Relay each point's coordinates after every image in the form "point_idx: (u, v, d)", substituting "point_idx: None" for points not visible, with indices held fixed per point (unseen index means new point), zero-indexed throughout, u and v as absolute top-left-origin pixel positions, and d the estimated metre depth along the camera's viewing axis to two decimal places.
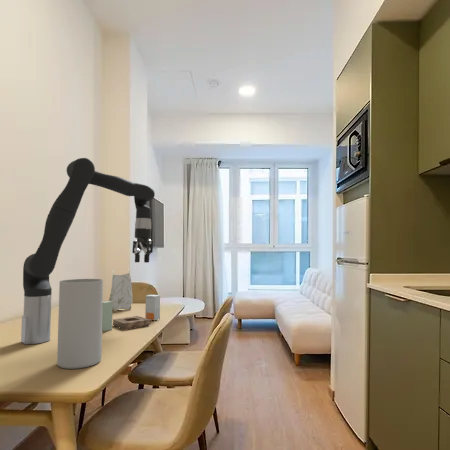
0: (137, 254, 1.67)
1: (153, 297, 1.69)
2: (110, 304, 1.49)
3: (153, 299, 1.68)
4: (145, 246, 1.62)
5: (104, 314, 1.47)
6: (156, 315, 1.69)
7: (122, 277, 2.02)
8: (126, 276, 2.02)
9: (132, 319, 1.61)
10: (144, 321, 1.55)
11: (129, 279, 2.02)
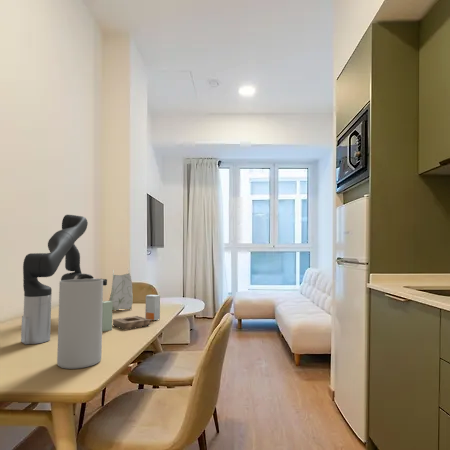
0: None
1: (153, 297, 1.69)
2: (110, 304, 1.49)
3: (153, 299, 1.68)
4: None
5: (104, 314, 1.47)
6: (156, 315, 1.69)
7: (122, 277, 2.03)
8: (126, 276, 2.02)
9: (132, 319, 1.61)
10: (144, 321, 1.55)
11: (130, 279, 2.02)
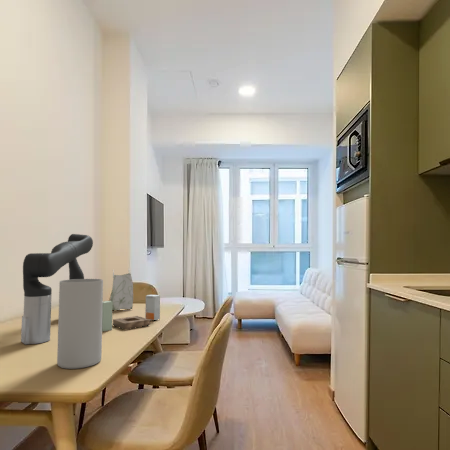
0: None
1: (153, 297, 1.69)
2: (110, 304, 1.49)
3: (153, 299, 1.68)
4: None
5: (104, 314, 1.47)
6: (156, 315, 1.69)
7: (123, 277, 2.03)
8: (127, 276, 2.02)
9: (132, 319, 1.61)
10: (144, 321, 1.55)
11: (130, 279, 2.02)
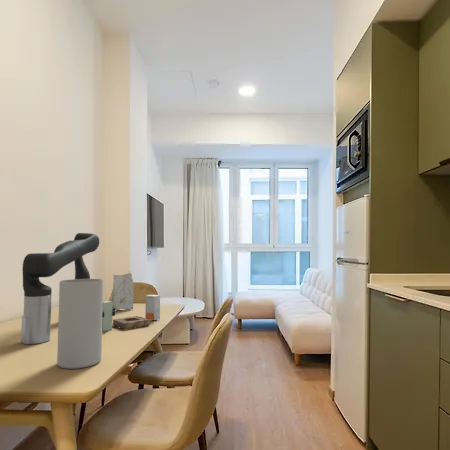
0: None
1: (153, 297, 1.69)
2: (110, 304, 1.49)
3: (153, 299, 1.68)
4: None
5: (104, 314, 1.47)
6: (156, 315, 1.69)
7: (123, 277, 2.03)
8: (128, 276, 2.02)
9: (132, 319, 1.61)
10: (144, 321, 1.55)
11: (131, 279, 2.02)
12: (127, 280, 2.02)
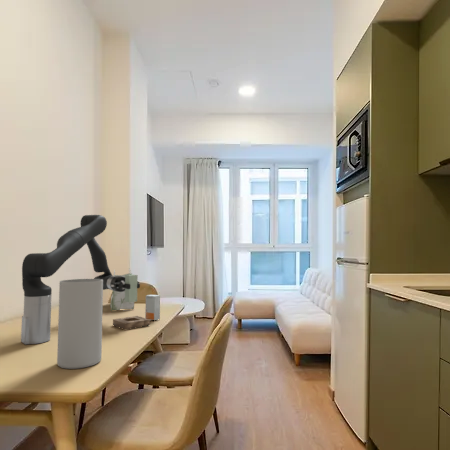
0: None
1: (153, 297, 1.69)
2: (135, 277, 1.58)
3: (153, 299, 1.68)
4: None
5: (130, 286, 1.56)
6: (156, 315, 1.69)
7: None
8: None
9: (132, 319, 1.61)
10: (144, 321, 1.55)
11: None
12: None
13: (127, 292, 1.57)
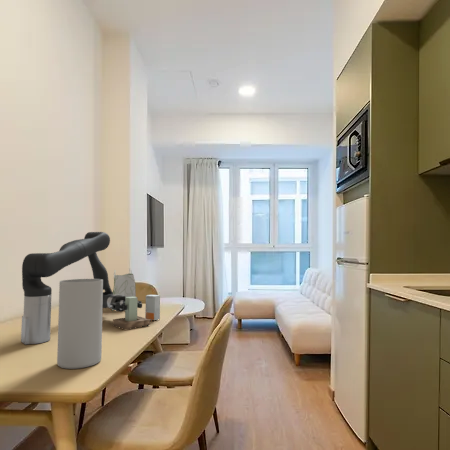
0: None
1: (153, 297, 1.69)
2: (135, 299, 1.58)
3: (153, 299, 1.68)
4: None
5: (130, 309, 1.56)
6: (156, 315, 1.69)
7: (125, 277, 2.03)
8: (130, 276, 2.03)
9: None
10: (144, 321, 1.55)
11: (133, 279, 2.02)
12: (129, 280, 2.02)
13: (127, 315, 1.56)
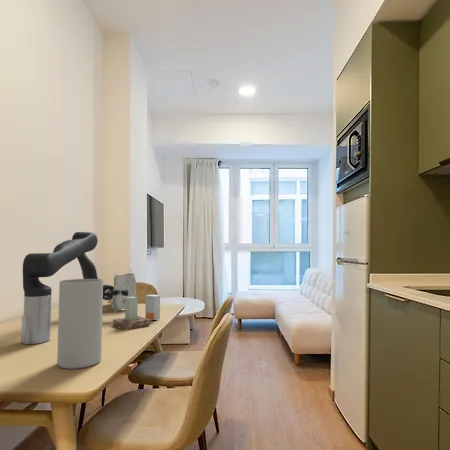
0: None
1: (153, 297, 1.69)
2: (135, 299, 1.58)
3: (153, 299, 1.68)
4: (117, 292, 1.73)
5: (130, 309, 1.56)
6: (156, 315, 1.69)
7: (126, 277, 2.03)
8: (130, 276, 2.03)
9: None
10: (144, 321, 1.55)
11: (133, 279, 2.03)
12: (129, 280, 2.03)
13: (127, 315, 1.56)
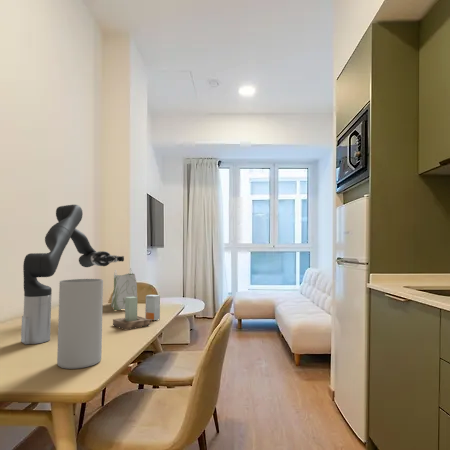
0: None
1: (153, 297, 1.69)
2: (135, 299, 1.58)
3: (153, 299, 1.68)
4: (113, 258, 1.74)
5: (130, 309, 1.56)
6: (156, 315, 1.69)
7: (126, 277, 2.03)
8: (131, 276, 2.03)
9: None
10: (144, 321, 1.55)
11: (134, 279, 2.03)
12: (130, 280, 2.03)
13: (127, 315, 1.56)
